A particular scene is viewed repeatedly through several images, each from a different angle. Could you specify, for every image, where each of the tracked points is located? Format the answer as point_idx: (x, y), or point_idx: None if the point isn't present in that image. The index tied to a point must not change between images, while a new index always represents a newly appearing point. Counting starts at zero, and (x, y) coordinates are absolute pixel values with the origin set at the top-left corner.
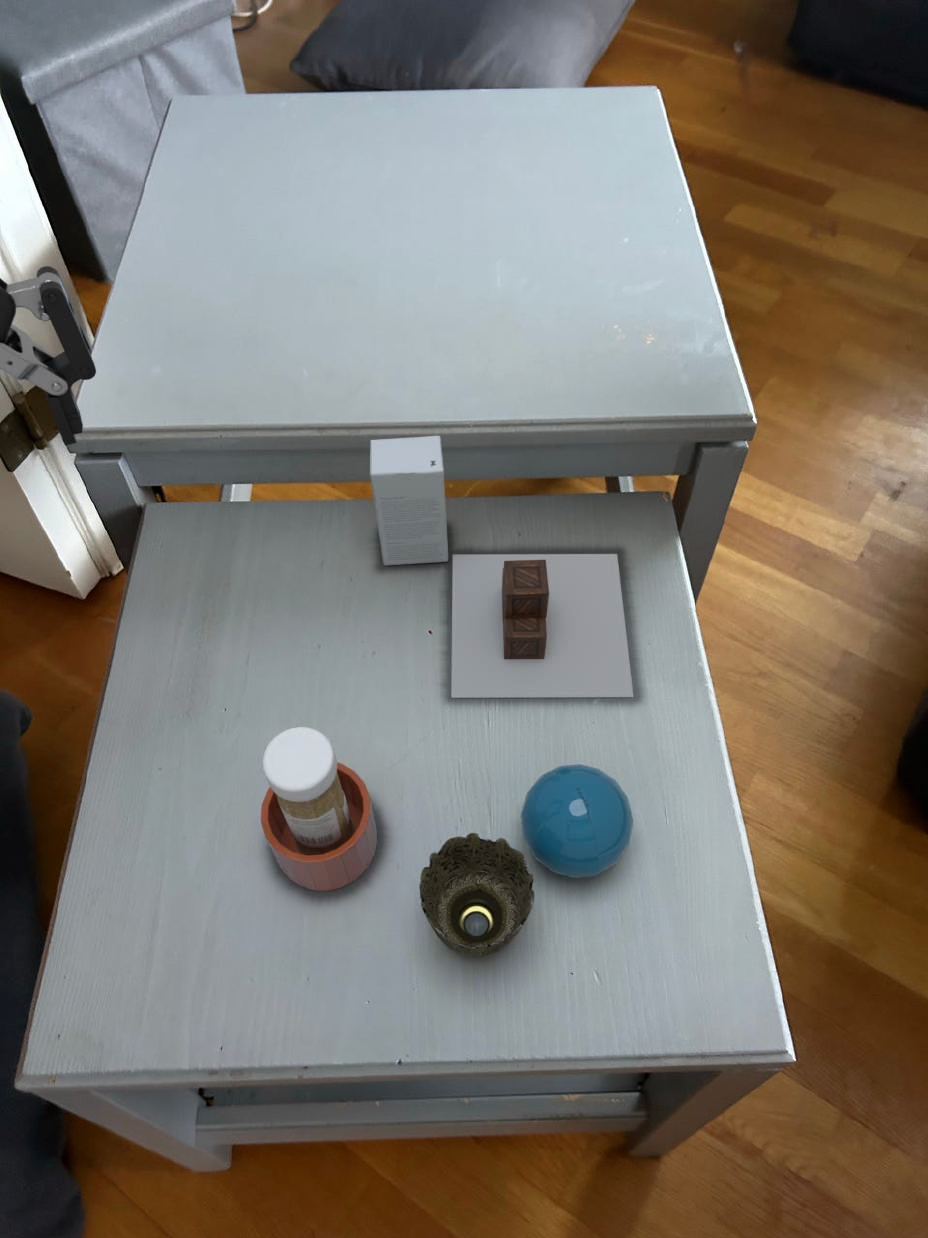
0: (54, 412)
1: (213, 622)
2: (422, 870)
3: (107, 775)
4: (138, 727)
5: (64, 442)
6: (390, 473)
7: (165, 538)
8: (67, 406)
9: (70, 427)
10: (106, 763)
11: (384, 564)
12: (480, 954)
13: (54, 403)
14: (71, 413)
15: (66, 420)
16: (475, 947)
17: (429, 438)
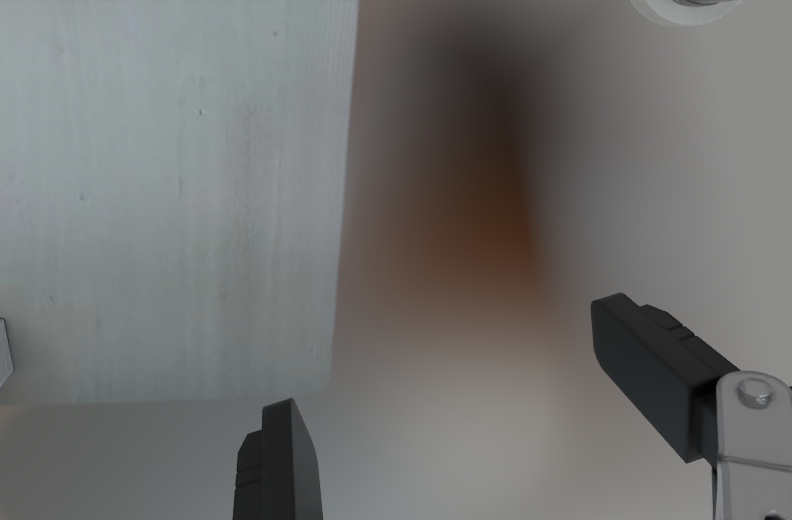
0: (286, 479)
1: (234, 242)
2: None
3: (340, 34)
4: (310, 98)
5: (288, 402)
6: None
7: (309, 361)
8: (253, 502)
9: (263, 442)
10: (343, 51)
11: (1, 319)
12: None
13: (277, 507)
14: (252, 482)
15: (262, 458)
16: None
17: None
